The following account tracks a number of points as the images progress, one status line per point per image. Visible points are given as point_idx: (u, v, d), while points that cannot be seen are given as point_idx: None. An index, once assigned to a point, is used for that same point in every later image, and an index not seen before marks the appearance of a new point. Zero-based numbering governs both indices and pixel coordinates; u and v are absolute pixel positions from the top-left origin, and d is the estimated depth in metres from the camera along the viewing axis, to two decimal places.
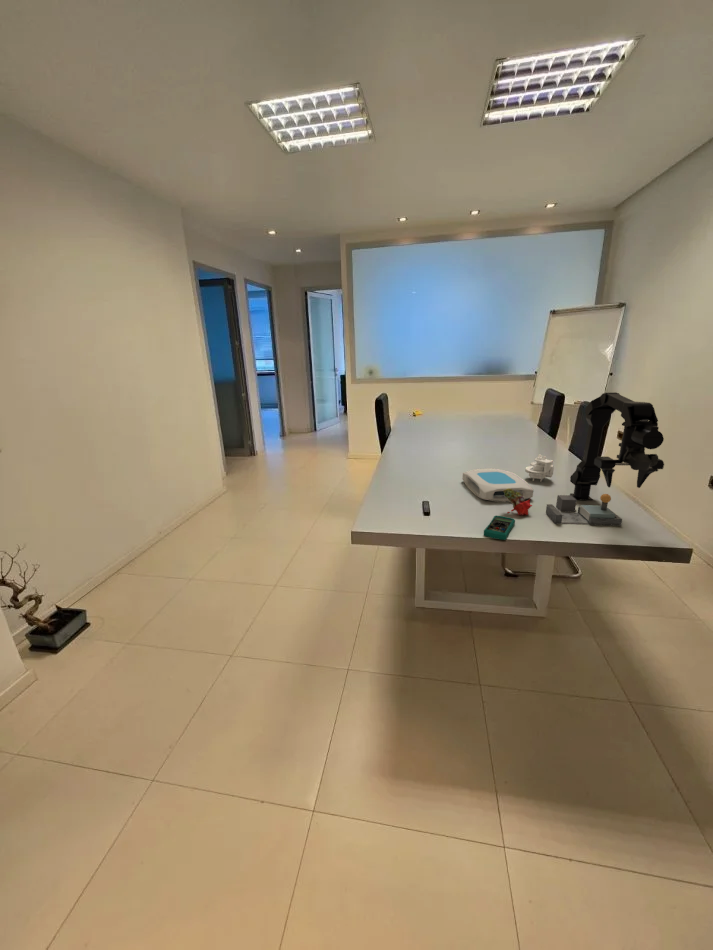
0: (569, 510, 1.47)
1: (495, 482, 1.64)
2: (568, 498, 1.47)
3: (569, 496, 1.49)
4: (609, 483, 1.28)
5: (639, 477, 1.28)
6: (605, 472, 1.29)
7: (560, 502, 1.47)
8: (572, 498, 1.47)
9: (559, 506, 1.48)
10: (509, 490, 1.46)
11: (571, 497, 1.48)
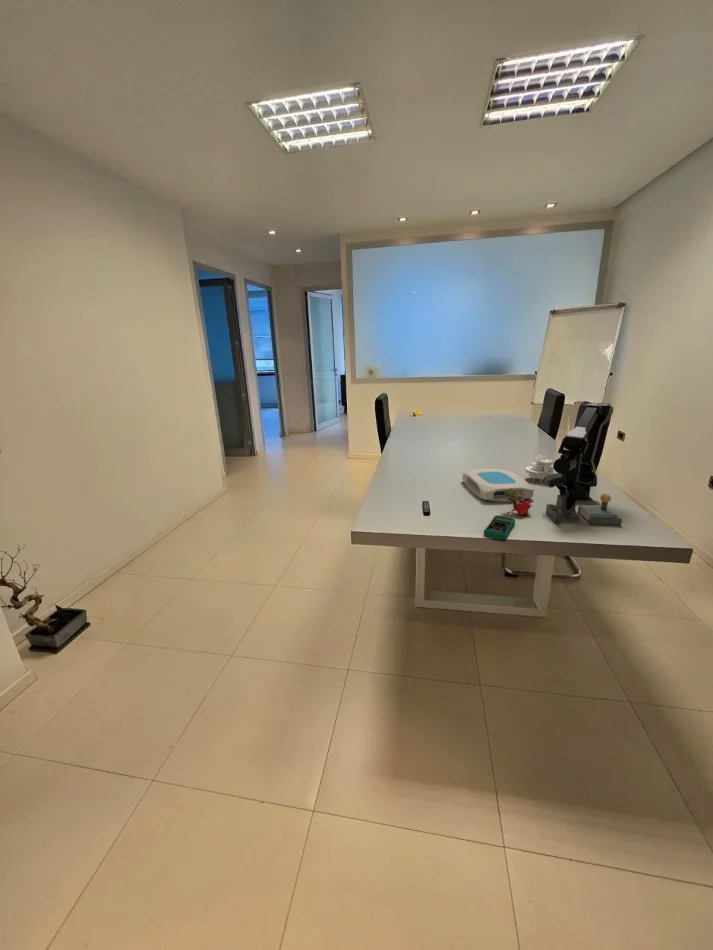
0: (569, 509, 1.47)
1: (495, 482, 1.64)
2: None
3: None
4: None
5: None
6: None
7: (560, 502, 1.47)
8: None
9: (559, 506, 1.48)
10: (509, 490, 1.46)
11: None
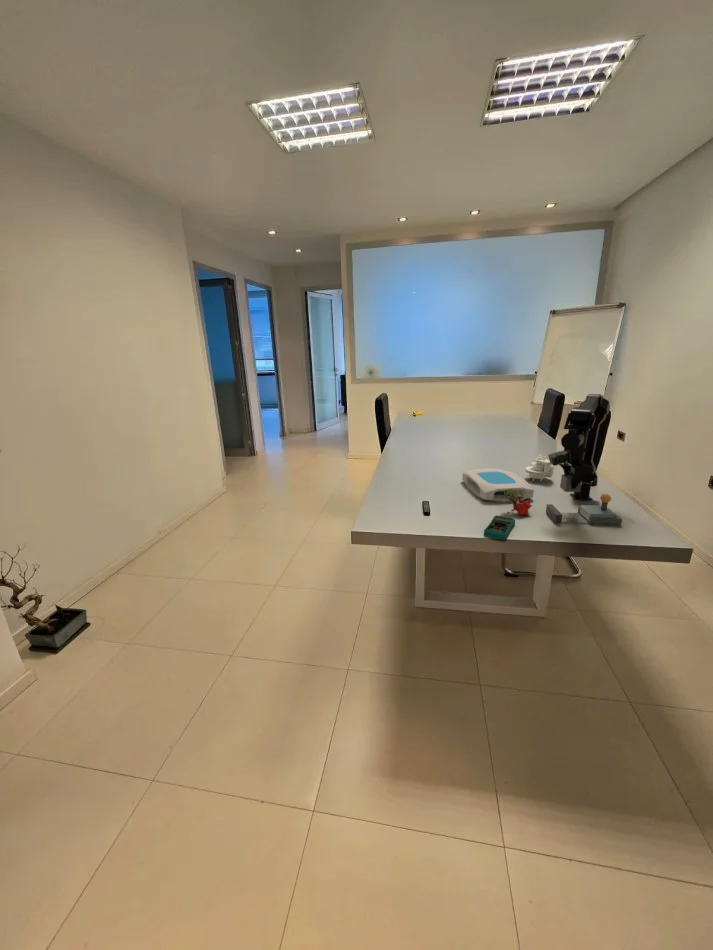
0: (574, 489, 1.38)
1: (495, 482, 1.64)
2: None
3: None
4: None
5: None
6: None
7: (565, 482, 1.39)
8: None
9: (563, 486, 1.40)
10: (509, 490, 1.46)
11: None
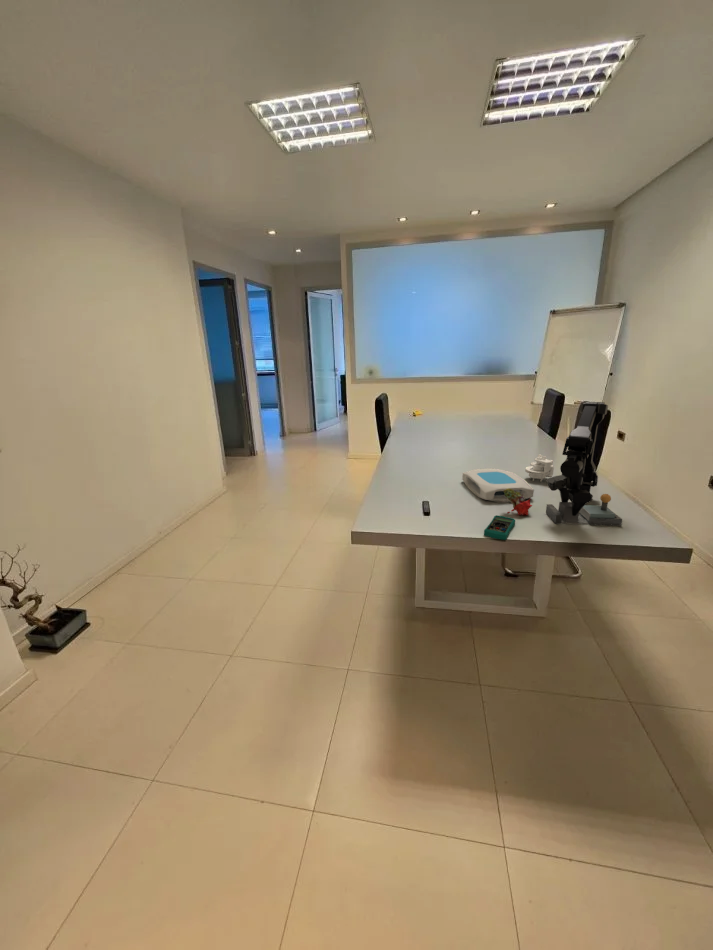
0: (572, 518, 1.38)
1: (495, 482, 1.64)
2: (571, 505, 1.39)
3: None
4: None
5: None
6: None
7: (563, 510, 1.39)
8: None
9: None
10: (509, 490, 1.46)
11: None
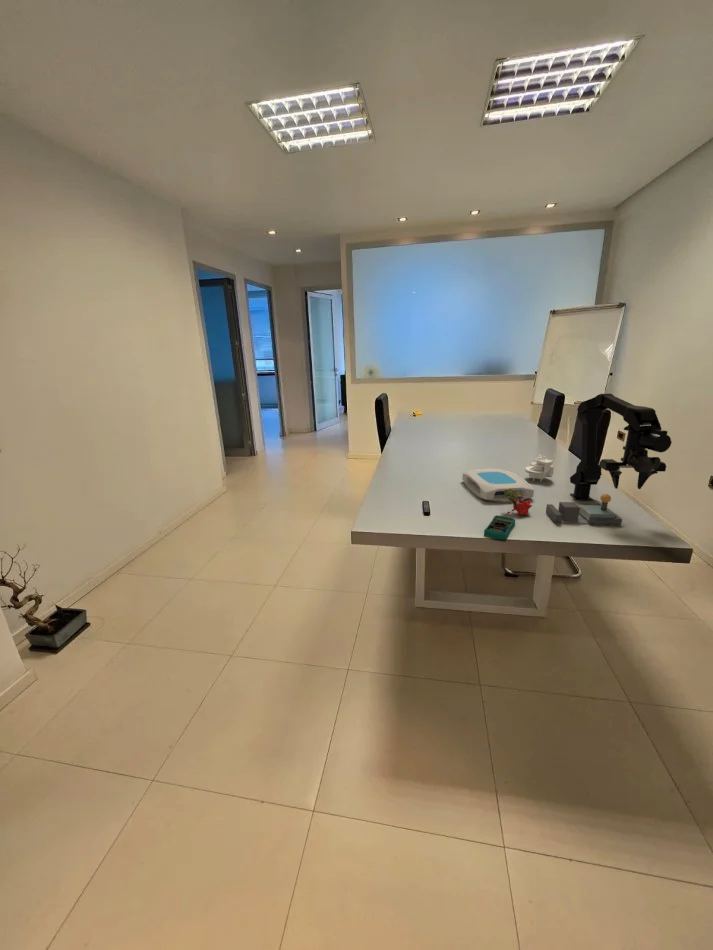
0: (572, 518, 1.38)
1: (496, 482, 1.64)
2: (571, 505, 1.39)
3: (572, 503, 1.41)
4: (616, 484, 1.34)
5: (639, 479, 1.34)
6: (612, 474, 1.35)
7: (563, 510, 1.39)
8: (575, 505, 1.38)
9: None
10: (509, 490, 1.46)
11: (574, 504, 1.39)
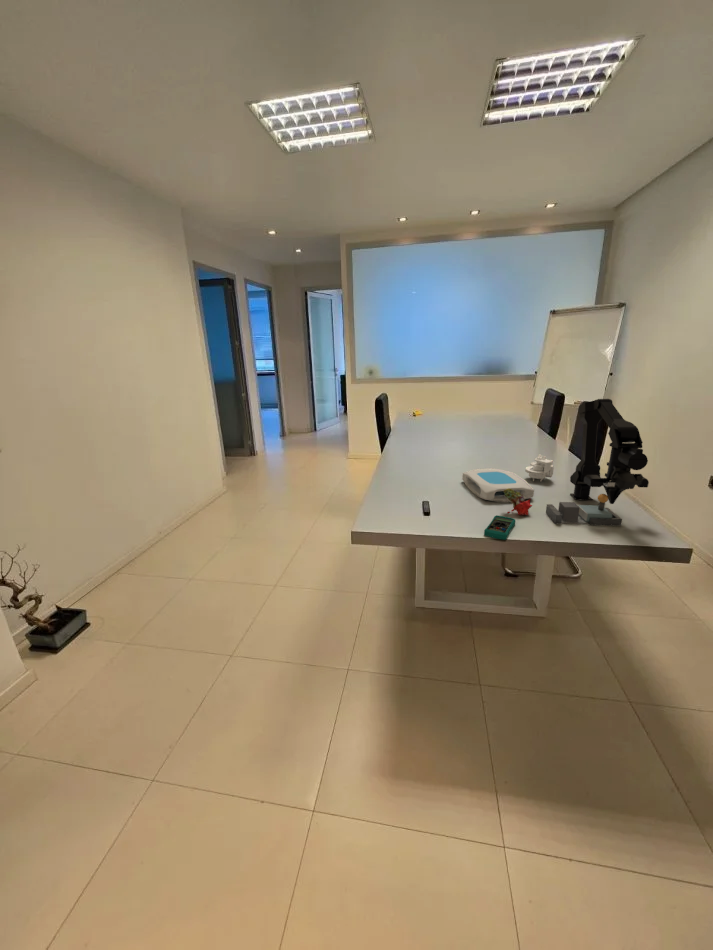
0: (572, 518, 1.38)
1: (496, 482, 1.64)
2: (571, 505, 1.39)
3: (572, 503, 1.41)
4: (611, 500, 1.36)
5: None
6: (607, 489, 1.37)
7: (563, 510, 1.39)
8: (575, 505, 1.38)
9: None
10: (509, 490, 1.46)
11: (574, 504, 1.39)
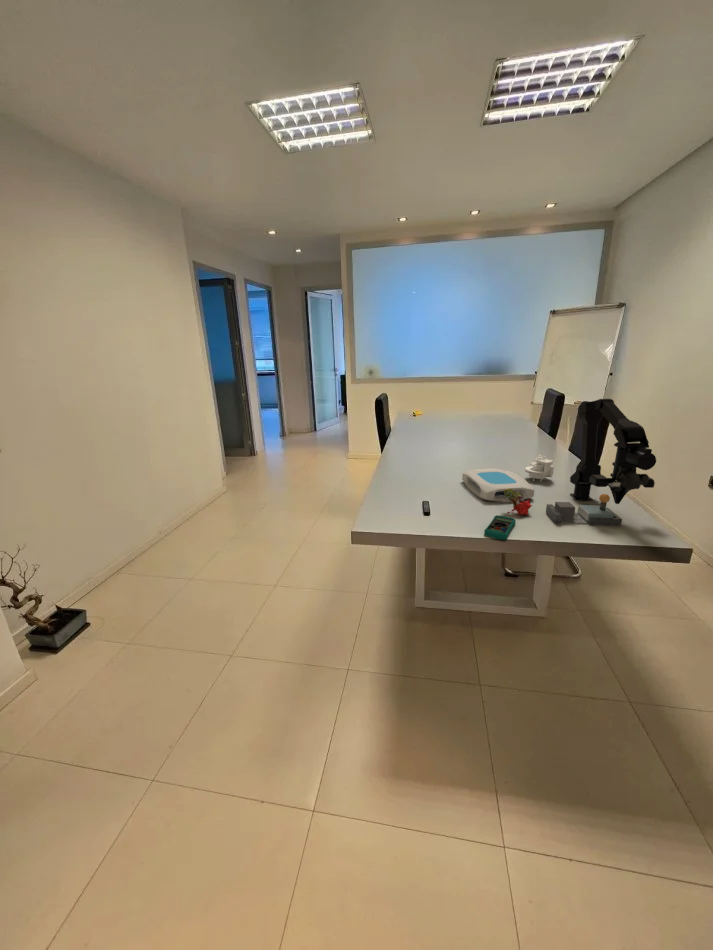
0: (568, 518, 1.39)
1: (496, 482, 1.64)
2: (566, 505, 1.39)
3: (567, 503, 1.41)
4: (616, 500, 1.36)
5: None
6: (613, 489, 1.37)
7: (558, 510, 1.39)
8: (570, 505, 1.39)
9: None
10: (509, 490, 1.46)
11: (569, 504, 1.40)
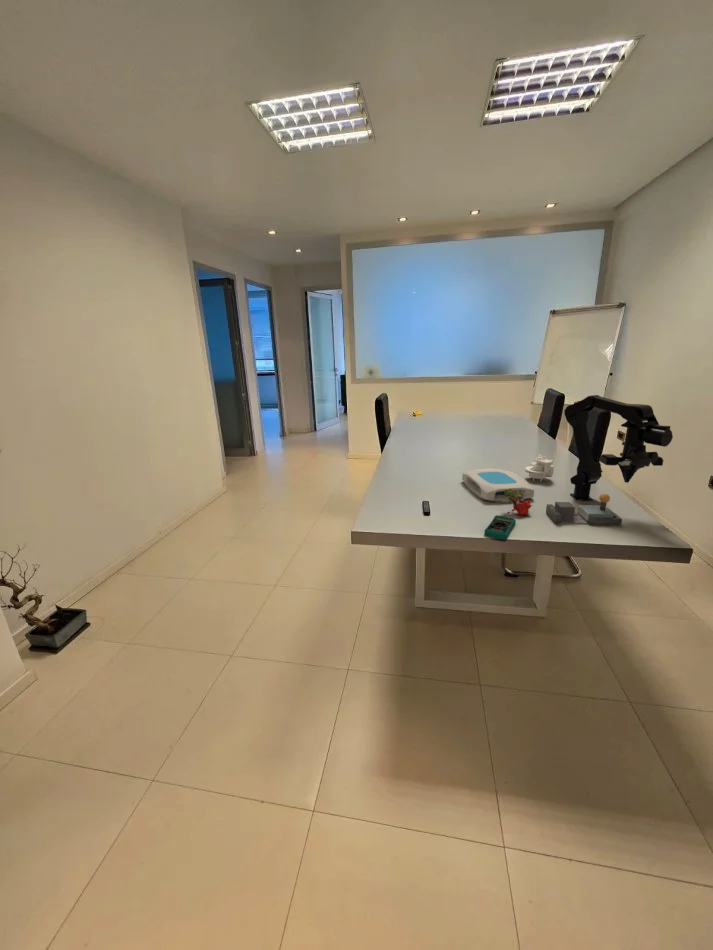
0: (568, 518, 1.39)
1: (496, 482, 1.64)
2: (566, 505, 1.39)
3: (567, 503, 1.41)
4: (626, 478, 1.40)
5: None
6: (622, 468, 1.41)
7: (558, 510, 1.39)
8: (570, 505, 1.39)
9: None
10: (509, 490, 1.46)
11: (569, 504, 1.40)
